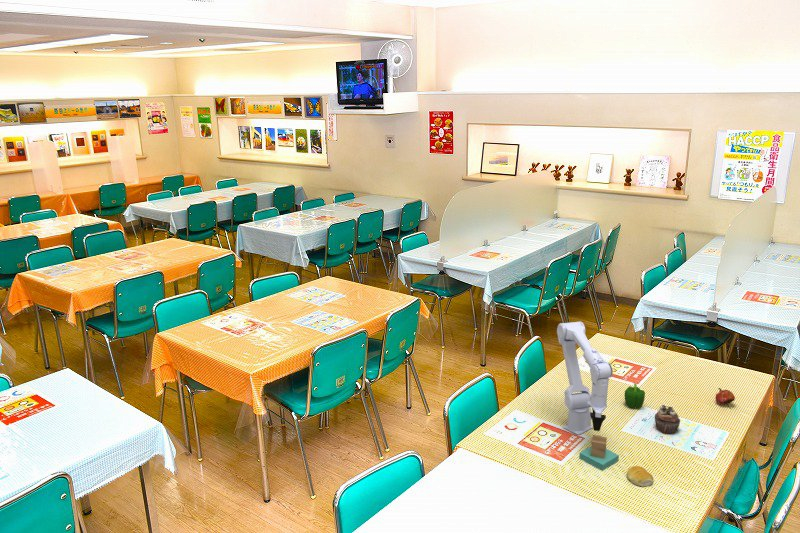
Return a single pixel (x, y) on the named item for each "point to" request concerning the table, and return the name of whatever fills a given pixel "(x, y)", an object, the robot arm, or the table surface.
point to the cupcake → (667, 420)
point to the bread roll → (639, 476)
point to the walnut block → (598, 446)
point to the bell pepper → (634, 397)
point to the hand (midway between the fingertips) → (596, 425)
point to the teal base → (599, 459)
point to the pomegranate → (724, 397)
